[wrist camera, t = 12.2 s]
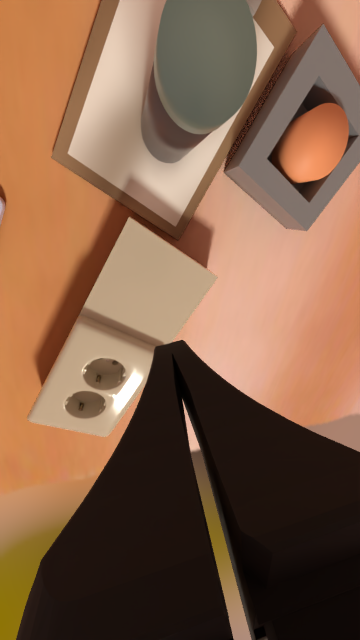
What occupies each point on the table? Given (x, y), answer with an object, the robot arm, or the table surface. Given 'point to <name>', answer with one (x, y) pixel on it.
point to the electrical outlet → (120, 332)
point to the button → (312, 144)
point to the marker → (197, 73)
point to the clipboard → (127, 107)
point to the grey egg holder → (273, 118)
